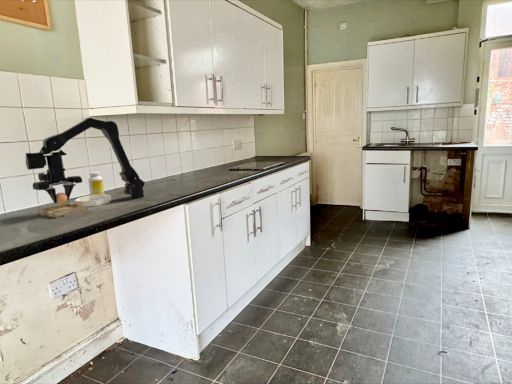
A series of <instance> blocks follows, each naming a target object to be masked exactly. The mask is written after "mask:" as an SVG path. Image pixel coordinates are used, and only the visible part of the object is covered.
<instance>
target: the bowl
mask: <svg viewBox="0 0 512 384" xmlns="http://www.w3.org/2000/svg"><path fill="white" fill-rule="evenodd" d="M73 201H74V202H73V203H74V204H80V205H86V206H87V208H88V207H94V206H95V207H96V206H101V205H105V204H108V203H110V202H111V201H112V195H111V194H105V193H104V194H99V195H91V194H89V195H85V196H81V197H77V198H76V199H74V200H73Z"/></svg>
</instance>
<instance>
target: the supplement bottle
mask: <svg viewBox="0 0 512 384" xmlns="http://www.w3.org/2000/svg"><path fill="white" fill-rule="evenodd" d="M89 176H90V177H89V178H88V185H89V193H90V194H89V195H99V194H105V190H104V182H103V177H102V176H100V171H94V172H93V171H92V172H89Z"/></svg>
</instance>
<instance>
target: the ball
mask: <svg viewBox="0 0 512 384" xmlns="http://www.w3.org/2000/svg"><path fill="white" fill-rule="evenodd" d="M56 199H57V203H56V204H58V205H61V204H65V203H67V202H68V201H67V195H66V194H65V192H58V193H56Z"/></svg>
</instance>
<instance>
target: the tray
mask: <svg viewBox="0 0 512 384" xmlns="http://www.w3.org/2000/svg"><path fill="white" fill-rule="evenodd" d="M85 210H88V207H87V206H86V205H80V204H75V203H74V202H65V203H63V204H58V205H54V206H48V207H45V208H39V209H37V212H38V213H37V214H38V215H39V216H42V217H47V218H52V219H58V218H62V217H65V216H66V215H69V214H72V213H77V212H81V211H85Z"/></svg>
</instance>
